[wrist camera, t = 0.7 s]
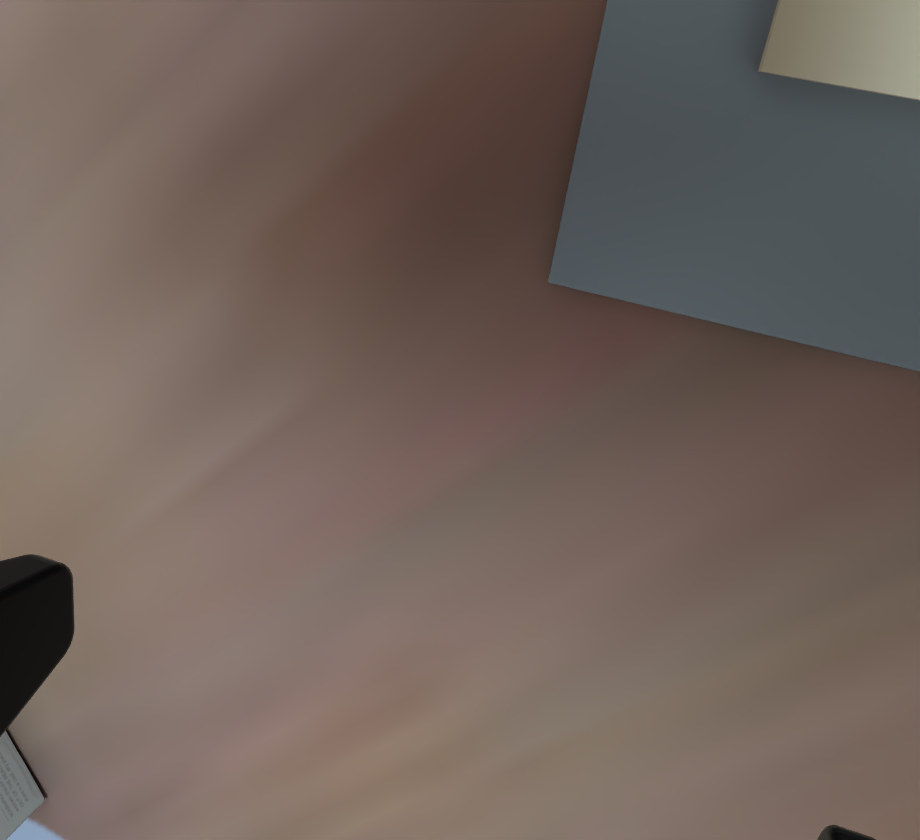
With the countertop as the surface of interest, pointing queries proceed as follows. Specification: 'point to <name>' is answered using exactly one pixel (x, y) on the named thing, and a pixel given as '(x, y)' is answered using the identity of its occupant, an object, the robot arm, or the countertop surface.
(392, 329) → the countertop surface
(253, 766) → the countertop surface
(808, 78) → the plain bar
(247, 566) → the countertop surface
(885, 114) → the mat
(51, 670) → the robot arm
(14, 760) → the supplement box
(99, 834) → the countertop surface
